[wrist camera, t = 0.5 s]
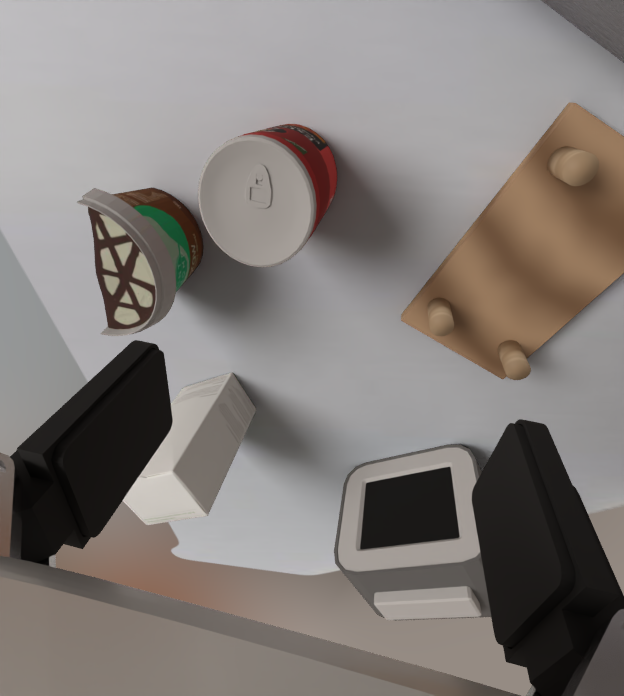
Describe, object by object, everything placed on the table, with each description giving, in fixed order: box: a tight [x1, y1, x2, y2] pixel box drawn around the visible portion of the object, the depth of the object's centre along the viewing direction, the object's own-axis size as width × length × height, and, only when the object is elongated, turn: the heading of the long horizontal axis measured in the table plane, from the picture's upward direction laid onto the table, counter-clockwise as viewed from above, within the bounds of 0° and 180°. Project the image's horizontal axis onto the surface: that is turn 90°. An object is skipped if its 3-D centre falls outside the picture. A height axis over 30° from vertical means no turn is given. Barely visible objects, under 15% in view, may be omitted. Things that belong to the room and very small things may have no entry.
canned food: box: [198, 124, 337, 267], centre depth 29 cm, size 8×8×11 cm
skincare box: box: [122, 373, 256, 525], centre depth 43 cm, size 8×7×16 cm
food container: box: [77, 188, 203, 336], centre depth 35 cm, size 12×6×10 cm, turn 171°
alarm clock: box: [334, 444, 491, 620], centre depth 44 cm, size 16×11×16 cm
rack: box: [401, 103, 624, 380], centre depth 31 cm, size 20×12×5 cm, turn 152°
